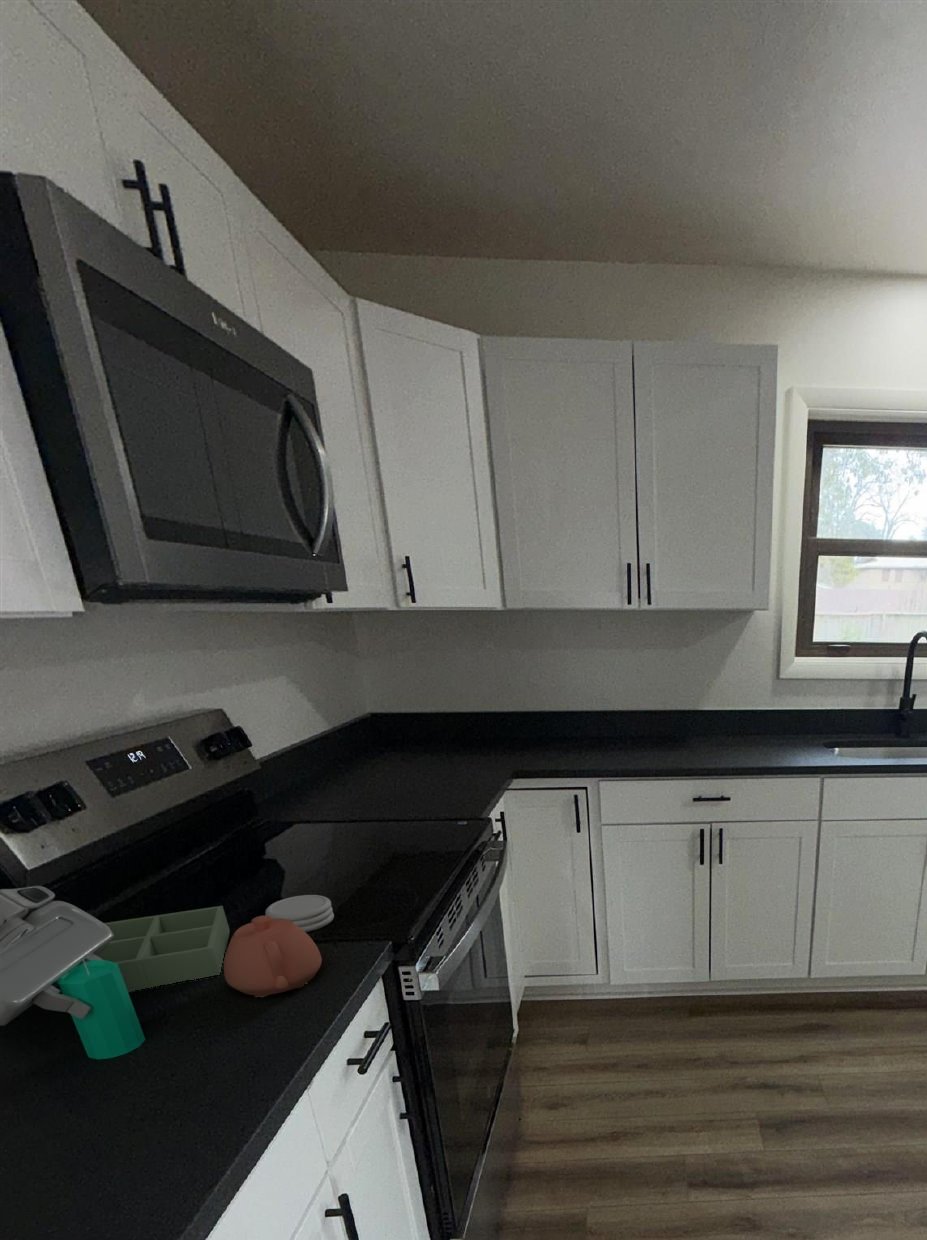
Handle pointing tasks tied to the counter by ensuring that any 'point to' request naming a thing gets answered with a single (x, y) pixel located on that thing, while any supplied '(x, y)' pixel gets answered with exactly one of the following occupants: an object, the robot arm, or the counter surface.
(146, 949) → the grid
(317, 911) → the grey round flat stack
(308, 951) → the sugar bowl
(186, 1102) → the counter surface
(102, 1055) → the candle
